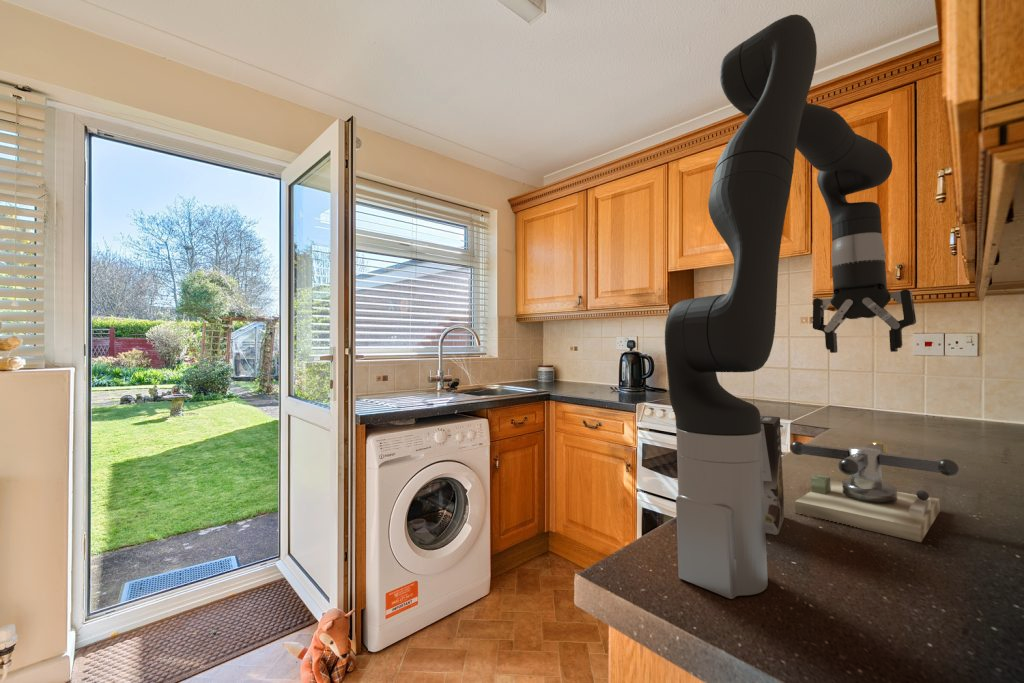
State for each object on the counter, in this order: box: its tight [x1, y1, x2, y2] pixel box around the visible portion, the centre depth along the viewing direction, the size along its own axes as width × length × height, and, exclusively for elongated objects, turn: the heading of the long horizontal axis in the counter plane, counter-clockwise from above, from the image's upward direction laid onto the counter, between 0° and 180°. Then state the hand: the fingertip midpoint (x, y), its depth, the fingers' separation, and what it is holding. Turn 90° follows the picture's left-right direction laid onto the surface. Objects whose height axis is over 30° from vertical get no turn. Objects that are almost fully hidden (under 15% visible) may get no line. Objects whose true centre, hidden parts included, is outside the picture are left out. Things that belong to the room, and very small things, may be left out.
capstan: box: [789, 440, 960, 502], centre depth 71 cm, size 22×22×8 cm
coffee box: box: [760, 415, 785, 536], centre depth 68 cm, size 9×6×16 cm
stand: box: [794, 474, 941, 543], centre depth 70 cm, size 18×15×4 cm
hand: (862, 352), depth 77 cm, fingers open, 8 cm apart
